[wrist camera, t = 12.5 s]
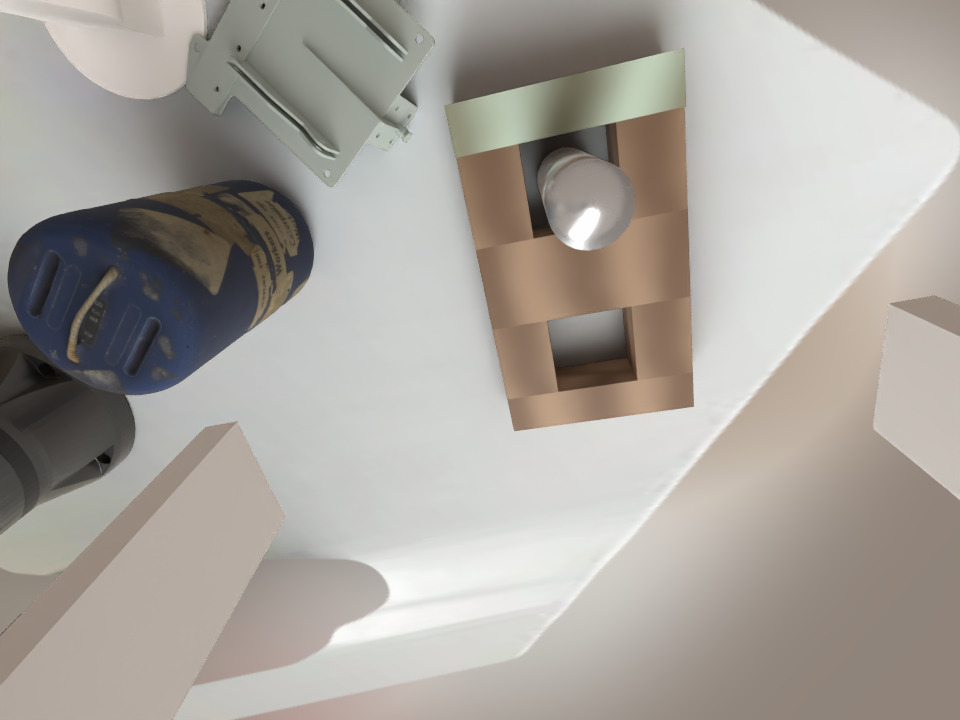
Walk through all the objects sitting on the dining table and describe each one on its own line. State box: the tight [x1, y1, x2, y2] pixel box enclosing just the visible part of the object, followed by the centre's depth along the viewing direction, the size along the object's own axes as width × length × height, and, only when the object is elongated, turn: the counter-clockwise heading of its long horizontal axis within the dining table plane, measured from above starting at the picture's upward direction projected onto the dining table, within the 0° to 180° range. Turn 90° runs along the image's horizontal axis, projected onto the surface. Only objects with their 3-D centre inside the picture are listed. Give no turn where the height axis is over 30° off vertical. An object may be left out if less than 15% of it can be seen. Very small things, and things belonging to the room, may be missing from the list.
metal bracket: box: [186, 0, 435, 188], centre depth 32 cm, size 14×6×15 cm
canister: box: [8, 180, 314, 395], centre depth 31 cm, size 10×10×18 cm
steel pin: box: [537, 147, 635, 250], centre depth 29 cm, size 4×4×14 cm
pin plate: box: [445, 48, 694, 431], centre depth 36 cm, size 14×24×4 cm, turn 12°
